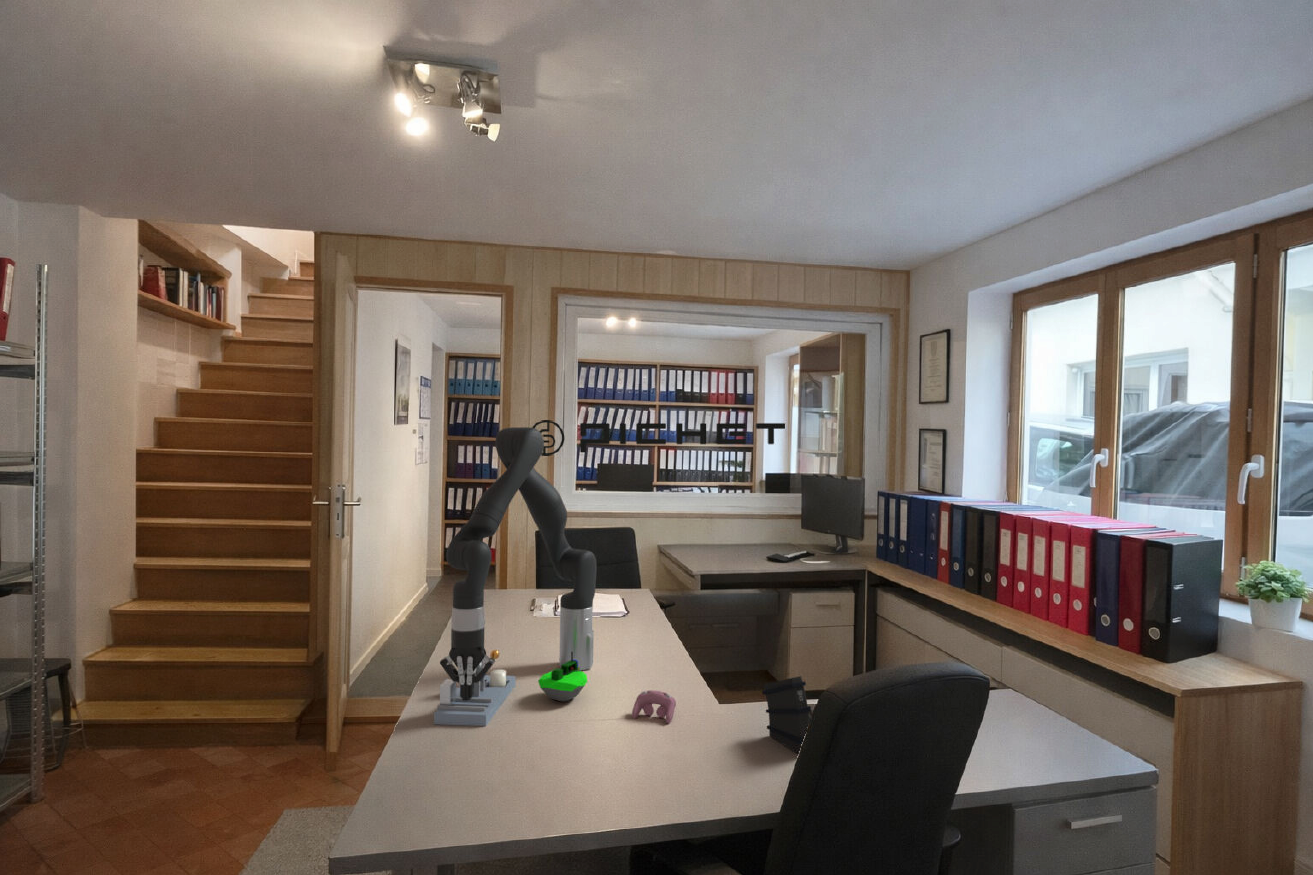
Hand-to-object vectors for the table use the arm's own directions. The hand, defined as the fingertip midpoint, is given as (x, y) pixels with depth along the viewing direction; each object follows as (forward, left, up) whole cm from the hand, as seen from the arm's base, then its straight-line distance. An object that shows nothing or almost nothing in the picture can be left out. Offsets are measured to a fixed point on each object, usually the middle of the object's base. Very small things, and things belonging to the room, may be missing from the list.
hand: (467, 699), depth 165 cm
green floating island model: (-20, -13, -4) cm, 24 cm away
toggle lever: (0, -8, +1) cm, 8 cm away
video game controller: (-44, -3, -4) cm, 44 cm away
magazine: (-73, +7, -4) cm, 74 cm away
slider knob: (+4, 0, -1) cm, 5 cm away
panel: (0, -8, -4) cm, 9 cm away
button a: (-3, -15, -4) cm, 16 cm away
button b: (+3, -15, -1) cm, 15 cm away
